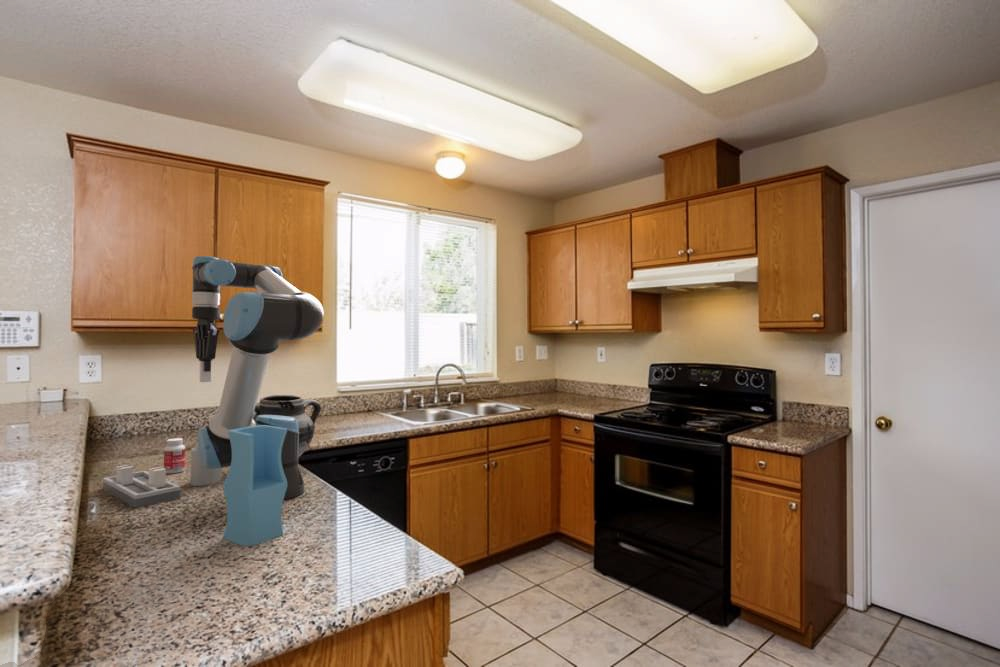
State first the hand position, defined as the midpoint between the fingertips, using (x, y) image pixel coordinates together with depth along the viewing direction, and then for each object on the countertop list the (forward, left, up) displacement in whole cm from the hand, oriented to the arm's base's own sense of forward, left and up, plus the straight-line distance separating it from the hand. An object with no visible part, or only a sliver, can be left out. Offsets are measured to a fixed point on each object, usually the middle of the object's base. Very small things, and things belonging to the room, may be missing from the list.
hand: (205, 381), depth 159 cm
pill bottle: (+25, -1, -33) cm, 41 cm away
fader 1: (+11, +18, -30) cm, 36 cm away
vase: (-51, +10, -33) cm, 61 cm away
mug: (+5, -3, -33) cm, 33 cm away
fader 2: (+1, +12, -30) cm, 32 cm away
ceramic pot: (+5, -28, -33) cm, 43 cm away
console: (+6, +15, -32) cm, 36 cm away
